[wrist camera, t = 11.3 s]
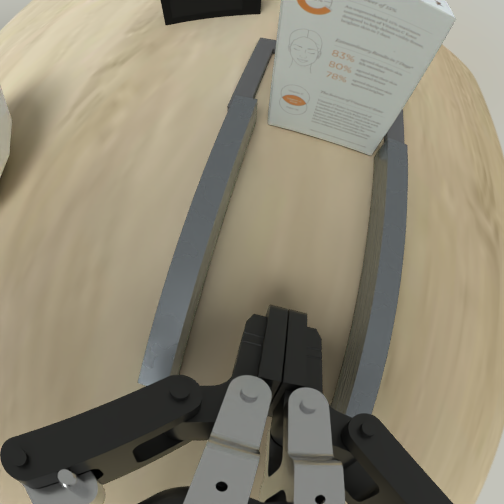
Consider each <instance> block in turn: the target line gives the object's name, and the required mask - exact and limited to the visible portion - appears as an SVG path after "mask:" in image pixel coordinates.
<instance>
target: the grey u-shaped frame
mask: <svg viewBox="0 0 504 504" xmlns="http://www.w3.org/2000/svg"><path fill="white" fill-rule="evenodd" d="M256 112H257V99H253V98H248V97H243V96H237V95H235V97H234V99H233V101H232V104H231V106H230V108H229V110H228V113H227V115H226V117H225V120H224V122H223V124H222V127H221V129H220V132H219V134H218V136H217V139H216V141H215V144H214V146H213V149H212V151H211V154H210V156H209V159H208V161H207V164H206V166H205V169H204V171H203V174H202V176H201V179H200V182H199V184H198V187H197V190H196V192H195V195H194V198H193V201H192V203H191V206H190V209H189V212H188V214H187V217H186V220H185V223H184V226H183V229H182V232H181V235H180V237H179V240H178V243H177V246H176V249H175V252H174V256H173V259H172V262H171V265H170V268H169V271H168V274H167V278H166V281H165V284H164V287H163V291H162V294H161V297H160V301H159V304H158V307H157V311H156V314H155V318H154V322H153V325H152V329H151V332H150V336H149V340H148V344H147V347H146V351H145V355H144V359H143V363H142V367H141V371H140V375H139V379H138V383H140V384H142V385H145V386H148V385H150V384H153V383H155V382H157V381H159V380H161V379H164V378H166V377H168V376H171V375H179V371H180V367H181V363H182V360H183V356H184V352H185V348H186V345H187V341H188V337H189V334H190V330H191V327H192V323H193V319H194V316H195V312H196V309H197V305H198V302H199V298H200V295H201V291H202V288H203V285H204V281H205V278H206V274H207V271H208V268H209V264H210V261H211V258H212V254H213V251H214V248H215V245H216V241H217V238H218V235H219V232H220V229H221V225H222V222H223V219H224V216H225V213H226V210H227V206H228V203H229V200H230V197H231V194H232V191H233V188H234V185H235V182H236V179H237V176H238V173H239V170H240V167H241V164H242V161H243V158H244V155H245V152H246V149H247V146H248V143H249V140H250V137H251V135H252V132H253V129H254V126H255V123H256ZM407 190H408V154H407V145H406V144H403V143H401V142H398V141H396V140H393V139H391V138H387V140H386V141H385V143H384V144H383V146H382V147H381V149H380V150H379V151H378V153H377V154H376V156H375V162H374V177H373V189H372V200H371V209H370V218H369V227H368V235H367V242H366V249H365V256H364V262H363V269H362V275H361V281H360V286H359V292H358V297H357V302H356V308H355V312H354V317H353V322H352V327H351V331H350V336H349V340H348V344H347V349H346V353H345V357H344V361H343V365H342V369H341V372H340V376H339V380H338V384H337V387H336V391H335V394H334V398H333V401H332V404H331V407H332V408H333V409H335V410H336V411H338V412H340V413H343V414H345V415H347V416H349V417H352V418H353V417H354V416H355V415H357V414H361V413H367V414H372V410H373V407H374V404H375V400H376V397H377V393H378V390H379V386H380V382H381V379H382V375H383V371H384V367H385V362H386V358H387V354H388V349H389V345H390V340H391V335H392V330H393V324H394V319H395V313H396V307H397V301H398V295H399V288H400V281H401V273H402V264H403V255H404V244H405V232H406V216H407Z"/></svg>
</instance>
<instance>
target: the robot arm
mask: <svg viewBox="0 0 504 504" xmlns="http://www.w3.org/2000/svg"><path fill="white" fill-rule="evenodd" d="M321 350H322V343H321V337H320V335H319V334H318V332H317V330H316V329H314V328H310V327H307V314H306V313H302V312H298V311H294V310H290V309H289V310H288V309H286V308H282V307H278V306H274V305H269V308H268V311H267V314H266V317H264V316H260V315H256V314H253V315H252V316H251V317H250V318H249V319H248V320H247V322H246V325H245V329H244V332H243V336H242V339H241V343H240V346H239V350H238V354H237V358H236V362H235V366H234V370H233V374H232V377H231V378H230V379H229V380H228V381H227V382H225V383H223V384H220V385H216V386H199V384H198V383H197V382H196V381H195V380H193V379H192V378H190V377H187V376H184V375H171V376H168V377H166V378H164V379H161V380H159V381H157V382H155V383H153V384H150V385H148V386H146V387H144V388H142V389H139V390H137V391H135V392H132V393H130V394H128V395H125V396H123V397H121V398H118V399H116V400H114V401H111V402H109V403H106V404H104V405H101V406H99V407H97V408H94V409H91V410H89V411H86V412H84V413H81V414H79V415H76V416H73V417H71V418H68V419H65V420H63V421H60V422H57V423H54V424H51V425H49V426H46V427H43V428H40V429H37V430H34V431H31V432H28V433H25V434H22V435H19V436H15V437H12V438H10V439H8V440H7V441H6V442H5V443H4V444H3V446H2V448H1V453H0V457H1V462H2V465H3V467H4V469H5V470H6V472H7V473H8V474H9V475H10V476H12V477H13V478H15V479H16V480H18V481H19V482H20V483H22V484H23V486H24V487H25V489H26V491H27V493H28V495H29V497H30V499H31V501H32V503H33V504H103V503H104V501H105V497H106V494H105V489H104V487H103V484H106V483H108V482H110V481H113V480H115V479H117V478H120V477H122V476H124V475H126V474H128V473H130V472H133V471H135V470H137V469H139V468H141V467H143V466H145V465H147V464H149V463H151V462H153V461H155V460H157V459H159V458H161V457H163V456H165V455H167V454H169V453H170V452H172V451H174V450H176V449H178V448H180V447H181V446H183V445H185V444H187V443H189V442H190V441H192V440H208V441H207V444H206V446H205V449H204V452H203V454H202V457H201V459H200V462H199V465H198V467H197V470H196V472H195V475H194V477H193V480H192V483H191V485H190V486H187V487H177V488H171V489H168V490H164V491H162V492H159V493H157V494H155V495H153V496H151V497H149V498H147V499H146V500H144V501H142V502H140V503H138V504H345V501H346V502H347V503H348V504H453V503H452V502H451V501H450V499H449V498H448V497H447V496H446V495H445V494H444V493H443V492H442V491H441V489H440V488H439V487H438V486H437V485H436V484H435V483H434V482H433V481H432V479H431V478H430V477H429V476H428V475H427V474H426V473H425V472H424V470H423V469H422V468H421V467H420V466H419V465H418V464H417V463H416V461H415V460H414V459H413V458H412V457H411V456H410V455H409V453H408V452H407V451H406V450H405V449H404V448H403V447H402V445H401V444H400V443H399V442H398V441H397V440H396V439H395V438H394V436H393V435H392V434H391V433H390V432H389V431H388V430H387V428H386V427H385V426H384V425H383V424H382V423H381V421H380V420H379V419H378V418H376V417H375V416H373V415H371V414H367V413H361V414H357V415H355V416H354V417H353V418H352V417H349V416H347V415H345V414H343V413H340V412H338V411H336V410H335V409H333V408H332V407H331V406H330V405H329V404H328V401H327V399H326V398H325V396H324V395H323V391H322V360H321V359H322V352H321ZM267 416H270V417H272V423H271V427H270V428H269V430H268V432H267V439H266V455H265V470H264V479H263V482H262V485H261V488H260V493H259V501H257V500H255V499H252V498H250V497H249V496H250V493H251V489H252V485H253V482H254V478H255V474H256V471H257V467H258V463H259V458H260V452H259V447H260V443H261V439H262V435H263V431H264V427H265V423H266V419H267Z"/></svg>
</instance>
